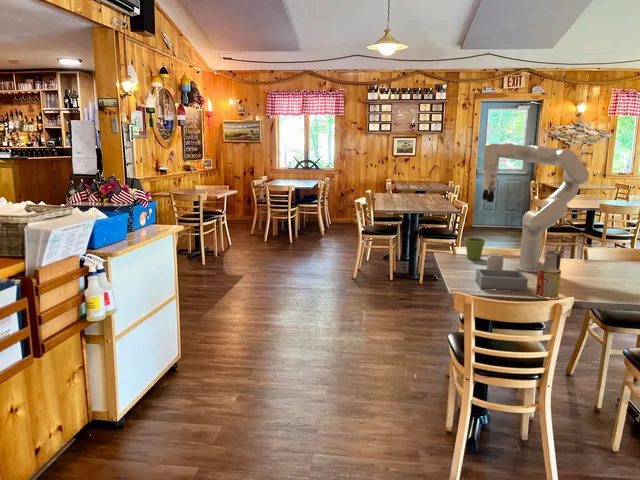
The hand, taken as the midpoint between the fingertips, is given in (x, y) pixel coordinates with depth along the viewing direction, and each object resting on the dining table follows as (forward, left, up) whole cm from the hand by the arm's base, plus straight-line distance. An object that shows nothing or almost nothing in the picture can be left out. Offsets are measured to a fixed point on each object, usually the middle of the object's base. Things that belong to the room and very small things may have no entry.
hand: (487, 200), depth 245 cm
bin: (-2, +33, -36) cm, 49 cm away
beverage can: (-19, +45, -37) cm, 61 cm away
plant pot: (+1, -21, -37) cm, 42 cm away
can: (-2, +19, -37) cm, 41 cm away
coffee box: (-26, +27, -37) cm, 52 cm away
